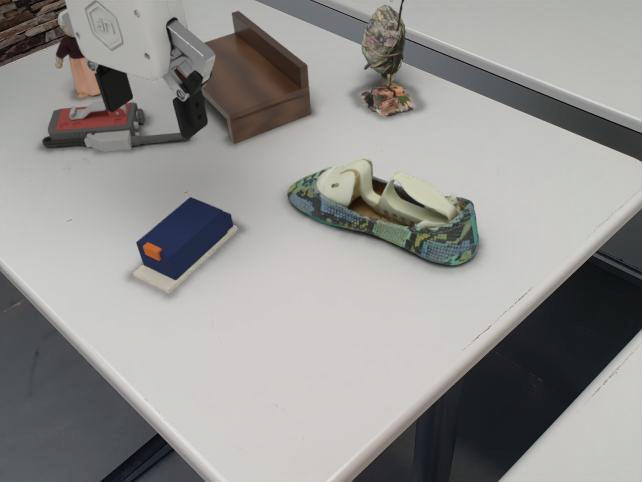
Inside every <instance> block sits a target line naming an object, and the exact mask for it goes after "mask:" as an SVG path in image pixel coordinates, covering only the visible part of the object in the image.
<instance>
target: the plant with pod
mask: <svg viewBox="0 0 642 482" xmlns="http://www.w3.org/2000/svg"><path fill="white" fill-rule="evenodd" d="M389 2H390V3H393V2H394V1H393V0H389ZM404 2H405V0H401V3H400V6H399V9H398V10H399V11H398V12H397V11H396V10H395V9H394V8H392V6H390V5H389V4H388V5H387V4H383V5H381V6H380V7H377V8H376V10H374V12H373V13H372V15H371V17H370V19H369V20H368V22H367V24H366V26H365V27H364V30H363V31H364V32H363V35H362V40H361V54H362V56H363V57H364V59H365V60H366V62H367V63H366V64H365V65H364V66H363V70H364V71H367V70H368V69H369V68H370V69H373V71H375V72H376V73H377V74H380V81H381V82H380V83H381V86H379V85H376V86H374V87H372V88H371V90H370V91H367V90H366V91H363V92H362V93H361V95H360V99H362V100H363V101H365V103H362V106H365V107H366V108H367V109H368V108H370V110H371V111H374V112H376V113H377V114H378V115H379V116H381V117H382V116H383V117H386V118H389V116H392V115H393V114H397V113H400V112H401V113H403V112H405V113H407V112H410V111H414V107H413V106H414V105H413V104H414V103H413V101H412V98H411V94H410V93H406V90H407V88H406V87H405V88H404V87H402V86H400V85H399V84H397V83H395V82H394V79H395V77H396V75H397V73H398V72H399V70H400V68H401V67H402V64H403V63H402V62H403V60H404V58H405V57H404V51H405V50H404V49H405V45H406V33H407V30H406V24H405V23H404V21H403V18H402V14H403V13H402V12H403V5H404Z"/></svg>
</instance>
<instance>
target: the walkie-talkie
mask: <svg viewBox="0 0 642 482" xmlns="http://www.w3.org/2000/svg"><path fill="white" fill-rule="evenodd" d="M51 114H52V115H51V118H50V121H49V123H48V126H47V133H48V135H49V136H45V137H43V138H42V140H41V143H42V145H43V146H44V147H47V148H51V147H52V148H53V147H56V148H59V147H60V148H62V147H74V146H86V148H93V149H95V150H97V151H100V152H102V153H103V152H117V151H131V150H132V147H137V146H138V147H139V146H142V145H147V144H158V143H159V144H160V143H169V142H170V141H174V140H184V139H185V138H183V137H182V136H181V134H180V132H174V133H161V134H151V135H150V134H149V135H141V132H140V131H138V130H139V129H140V125H144V124H145V122H146V120H145V119H146V118H145V113H144V110H143V109H142V107H141V108H139V107H138V103H137V102H127V103H126V104H124V105H123V106H121V107H120V108H119V109H117V110H116V111H114V112H110V111H107V110H106V108H105V105H104V102H103V100H102V101H92V102H91V103H90V104H89V105H87V106H75V105H72V106H71V107H66V108H65V107H64V108H58V109H54V110H53V112H52V113H51Z"/></svg>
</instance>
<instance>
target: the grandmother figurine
mask: <svg viewBox="0 0 642 482" xmlns="http://www.w3.org/2000/svg"><path fill="white" fill-rule="evenodd" d="M67 12H68V10H67V8H66V9H64V10H63V11H62V10H61V12H59V13H58V16H57V23H58V25H59V28H60V29H62V31H63V33H64V34H65V35H66V36H63V37H62V38H61V40H60V42H59V44H58V47H57V48H56V49H57V50H56V52H55V62H54V66H55V68H56V69H59V70H61V69H62V68H63V67H64V65H63V63H64V59H65V58H66V57H67V56H68V62H69V63H68V64H69V67H70V68H69V69H70V72H71V76H72V80H73V83H74V88H75V90H76V93H77V97H78V99H79V98H80V99H82V98H85V97H87V96H91V97H92V96H97V95H101V93H100V90H99V87H98V84H97V81H96V78H95V75H94V74H95V73H97V72H92V71H91V70H90V69H89V68H88V66H87V63H86V61H87V58H86V57H85V56H84V55H83V54H82V53H81V51H80V50H79V49H78V48H77V47H76V45H75V42H74V39H75V37H73V36H72V35H71V33H70V32H69V30H68V29H67V27H66V25H65V24H64V22H63V20H62V15H64V14H65V13H67Z"/></svg>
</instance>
